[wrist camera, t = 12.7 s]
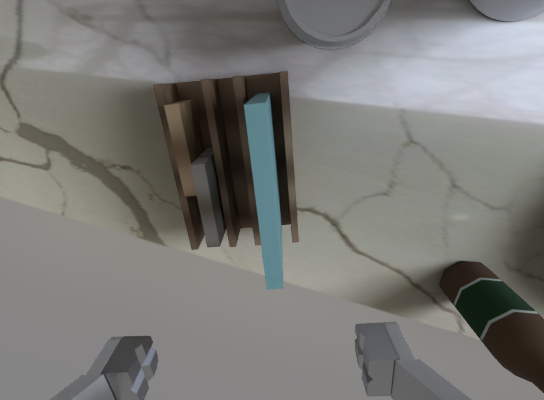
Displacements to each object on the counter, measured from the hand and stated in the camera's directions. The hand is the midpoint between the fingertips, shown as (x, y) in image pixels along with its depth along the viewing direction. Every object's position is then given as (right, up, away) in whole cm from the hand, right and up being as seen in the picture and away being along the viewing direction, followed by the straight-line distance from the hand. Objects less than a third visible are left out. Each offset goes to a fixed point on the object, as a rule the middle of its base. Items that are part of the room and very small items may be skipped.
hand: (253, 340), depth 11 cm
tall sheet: (+1, +11, +26) cm, 29 cm away
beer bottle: (+31, -7, +35) cm, 48 cm away
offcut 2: (-6, +8, +28) cm, 30 cm away
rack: (-4, +11, +28) cm, 30 cm away
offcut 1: (-9, +13, +26) cm, 30 cm away
